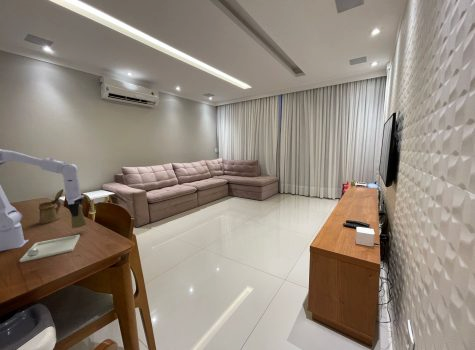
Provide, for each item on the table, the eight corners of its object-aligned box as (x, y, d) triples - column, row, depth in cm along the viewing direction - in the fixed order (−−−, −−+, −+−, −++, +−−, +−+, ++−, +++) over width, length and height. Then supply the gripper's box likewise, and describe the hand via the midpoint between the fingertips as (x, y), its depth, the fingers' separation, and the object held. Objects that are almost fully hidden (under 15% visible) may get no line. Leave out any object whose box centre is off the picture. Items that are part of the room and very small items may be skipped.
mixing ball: (26, 259, 78) (25, 251, 78) (29, 255, 81) (28, 248, 81) (37, 257, 80) (36, 249, 79) (40, 253, 83) (39, 246, 82)
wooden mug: (70, 217, 127) (66, 189, 124) (41, 224, 115) (36, 194, 112) (65, 214, 131) (60, 188, 128) (36, 221, 120) (31, 193, 117)
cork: (77, 228, 98) (73, 207, 96) (68, 227, 99) (64, 206, 97) (89, 223, 104) (85, 203, 101) (80, 222, 105) (76, 202, 103)
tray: (20, 263, 76) (19, 260, 76) (36, 245, 90) (35, 242, 90) (73, 251, 84) (72, 248, 84) (80, 237, 98) (79, 234, 98)
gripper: (79, 189, 94) (83, 217, 96) (85, 184, 106) (88, 209, 108) (60, 192, 90) (65, 220, 92) (68, 186, 103) (72, 211, 105)
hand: (76, 214), depth 100 cm, fingers closed on cork, 5 cm apart
